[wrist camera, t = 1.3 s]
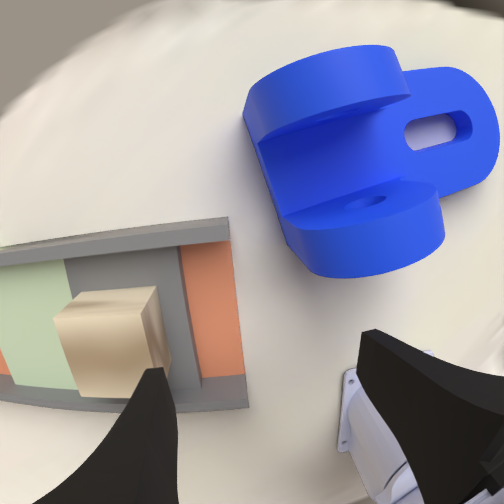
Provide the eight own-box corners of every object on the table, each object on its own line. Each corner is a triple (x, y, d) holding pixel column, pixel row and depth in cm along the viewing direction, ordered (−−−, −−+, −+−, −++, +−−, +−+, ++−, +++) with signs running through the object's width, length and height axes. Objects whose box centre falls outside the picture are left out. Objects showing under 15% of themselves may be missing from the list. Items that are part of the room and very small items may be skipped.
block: (171, 359, 19) (162, 397, 16) (101, 361, 19) (81, 396, 15) (156, 285, 18) (140, 313, 14) (81, 291, 18) (52, 318, 14)
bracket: (286, 243, 20) (331, 297, 11) (242, 114, 18) (256, 66, 9) (491, 170, 20) (577, 179, 11) (463, 69, 18) (545, 45, 9)
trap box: (245, 381, 22) (248, 407, 19) (-27, 375, 20) (-43, 391, 18) (227, 216, 19) (228, 224, 16) (-66, 259, 18) (-87, 268, 15)
